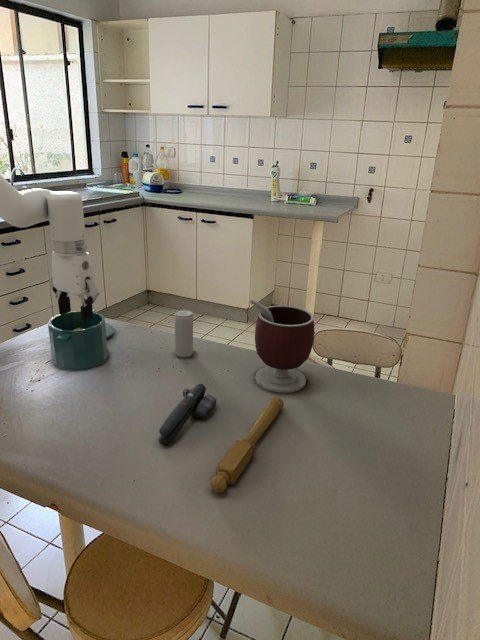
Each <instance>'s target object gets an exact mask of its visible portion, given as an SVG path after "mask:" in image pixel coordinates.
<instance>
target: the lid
mask: <svg viewBox="0 0 480 640" xmlns="http://www.w3.org/2000/svg"><path fill="white" fill-rule="evenodd" d="M105 328H106V339H108V338H111V337H112V335H114V333H115V329H114V326H113V325H111V324H110V323H107V322H105Z"/></svg>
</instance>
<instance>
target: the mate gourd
mask: <svg viewBox="0 0 480 640" xmlns="http://www.w3.org/2000/svg"><path fill="white" fill-rule="evenodd" d="M249 304H252V305H253V306H255V307H256V308H257V309H258V310H259V311H258V316H257V319H256V323H255V326H254V327H255V328H254V329H255V330H254V346H255V351H256V354H257V355H258V357H259V359H260V360H261V361H262V363H264V364H265V365H266V366H265V367H262V368H261V369H258V370H257V372H256V374H255V382H256V383H257V385H258V386H259V387H261V388H263V389H265V390H267V391H270V392H275V393H282V394H285V393H294V392H298V391H300V390H302V389H303V388H304V387H306V382H307V379H306V376H305V375H304V374H303V372H301V370H298V368H300V367H301V366H302V365H303V364H304V363H305V362H307V360H308V359H309V358H310V355H311V352H312V350H313V346H314V342H315V341H314V340H315V321H314V320H315V317H314V315H313V313H311V312H310V311H309V310H307V309H304V308H301V307H297V306H293V305H282V304H281V305H271V306H265V305H263V304H262V303H260V302H258V301H256V300H254V299H250V302H249Z"/></svg>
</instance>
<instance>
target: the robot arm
mask: <svg viewBox="0 0 480 640" xmlns="http://www.w3.org/2000/svg"><path fill="white" fill-rule="evenodd" d="M0 218H1V219H2V220H3V221H4V222H6V223H7V224H9V225H11V226H13V227H15V228H20V229H21V228H29V227H32V226H34V225H37V224H40V223H44V222H47V221H48V222H49V228H50V239H51V248H52V252H51V277H50V279H48V284H49V285H50V287H51V289H52V291H53V294H55V298H56V300H57V304H58V313H59V314H61V315H63V314H65V313H68V312H72V309H71V308H72V307H71V298H70V296H69V294H71V295H75V296H77V297H78V298H79V300H80V304H81V305H80V311H81V318H82V321H84V322H85V321H87V320H90V319H92V318H93V310H94V308H93V305H94V303H95V301H96V300H97V298H98V297H99V295H100V290H99V289H98V288H97V287H96V278H95V273H94V265H93V262H92V257H91V255H90V253H89V252H87V250H88V245H87V239H86V228H85V227H86V226H85V216H84V203H83V198H82V196H81V195H80V193H78V192H75V191H54V190H50V189H45V188H38V187H37V188H31V189H25V190H21V191H19V190H18V189H17V188H15V186H13V185H12V184H11V183H10V182H9V181H8V180H7V179H5V177H4V176H3V175H2V174H1V173H0ZM59 314H58V315H59Z"/></svg>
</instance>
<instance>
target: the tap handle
mask: <svg viewBox="0 0 480 640" xmlns="http://www.w3.org/2000/svg"><path fill="white" fill-rule="evenodd" d="M283 407H284V401H283V399H282V398H281V397H278V396H274V397H272V398H271V400H270V401H269V402H268V404H267V405H266V406H265V408H264V409H263V411H262V412H261V414H260V415H259V416H258V418H257V419H256V421H255V422H254V424H253V426H251V428H250V430H249V431H248V433H247V434H246V436H245V437H242V439H237V440H235V442H234V443H233V444H232V445H231V446H230V448H229V449H228V451H227V452H226V453H225V454H224V455H223V457H222V458H221V459H220V461H219V462H218V463H217V466H216V472H215V473H216V475H215V476H213V477H211V480H210V482H209V486H210V489H211V491H212V492H213V493H215V494H221V493H224V492H225V490H226V488H227V486H228V485H234V484H235V482H236V481H237V479H239V477H240V475H241V474H242V472H243V471H244V469H245V468H246V467H247V465H248V463H250V460H251V459H252V454H253V449H255V444H256V443H257V442H258V440H259V439H260V438H261V437H262V435H263V434H264V433H265V431H266V430H267V429H268V428H269V427H270V425H271V424H272V422H273V421H274V420H275V419H276V418H277V416H278V414H279V413H280V411H281V410H282V408H283Z"/></svg>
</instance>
